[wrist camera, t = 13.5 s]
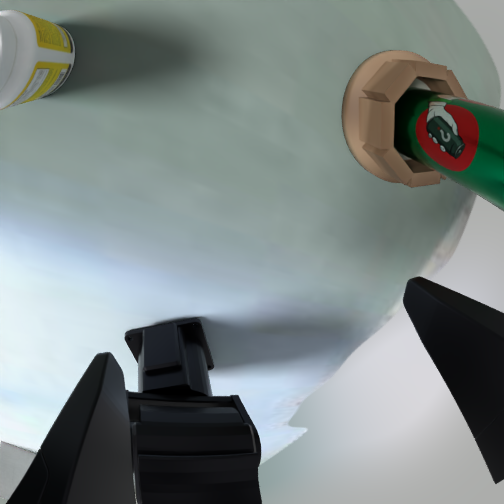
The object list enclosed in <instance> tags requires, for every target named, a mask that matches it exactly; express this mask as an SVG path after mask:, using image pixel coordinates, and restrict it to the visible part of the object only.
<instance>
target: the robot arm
mask: <svg viewBox="0 0 504 504" xmlns="http://www.w3.org/2000/svg"><path fill="white" fill-rule="evenodd" d="M403 304H404V307H405V309H406V311H407V313H408V315H409V317H410V319H411V321H412V323H413V325H414V327H415V329H416V331H417V333H418V335H419V337H420V339H421V341H422V343H423V345H424V347H425V349H426V350H427V352H428V354H429V355H430V357H431V359H432V360H433V362H434V364H435V365H436V367H437V369H438V371H439V372H440V374H441V376H442V378H443V379H444V381H445V383H446V385H447V387H448V388H449V390H450V392H451V394H452V396H453V397H454V399H455V401H456V403H457V405H458V407H459V409H460V411H461V412H462V414H463V416H464V418H465V420H466V422H467V424H468V426H469V428H470V430H471V432H472V434H473V436H474V438H475V441H476V443H477V445H478V447H479V449H480V451H481V454H482V456H483V458H484V460H485V462H486V465H487V467H488V469H489V471H490V473H491V476H492V478H493V481H494V482H495V484H497V483H499V482H500V481H502V480H503V479H504V313H502V312H500V311H498V310H496V309H494V308H491V307H489V306H487V305H485V304H482V303H480V302H478V301H476V300H474V299H471V298H469V297H467V296H464V295H462V294H460V293H458V292H455V291H453V290H451V289H448V288H446V287H444V286H441V285H439V284H437V283H434V282H432V281H430V280H427V279H425V278H423V277H415V278H412V279H409V280H408V282H407V285H406V289H405V293H404V297H403ZM193 324H197V325H193ZM125 341H126V343H127V345H128V347H129V348H130V350H131V352H132V354H133V356H134V358H135V359H136V361H137V363H138V392H129V391H128V390H125V382H124V375H123V371H122V369H121V367H120V366H119V364H118V363H117V361H116V359H115V358H114V356H113V355H112V353H110V352H105V353H99V354H97V355H96V356H95V357H94V359H93V360H92V362H91V363H90V365H89V367H88V368H87V370H86V371H85V373H84V374H83V376H82V378H81V379H80V381H79V382H78V384H77V386H76V387H75V389H74V390H73V392H72V394H71V395H70V397H69V399H68V400H67V402H66V403H65V405H64V407H63V408H62V410H61V412H60V414H59V415H58V417H57V419H56V420H55V422H54V424H53V425H52V427H51V429H50V431H49V432H48V434H47V436H46V438H45V439H44V441H43V443H42V445H41V447H40V448H41V449H39V450H38V452H37V454H36V456H35V457H34V459H33V461H32V463H31V464H30V466H29V468H28V470H27V472H26V473H25V475H24V476H23V478H22V479H21V481H20V483H19V484H18V486H17V487H16V489H15V490H14V492H13V494H12V495H11V497H10V498H9V500H8V501H7V503H6V504H136V499H137V503H138V504H262V500H261V495H260V489H259V481H258V467H259V464H260V460H261V443H260V438H259V435H258V432H257V430H256V428H255V426H254V424H253V422H252V420H251V418H250V417H249V415H248V413H247V411H246V409H245V407H244V405H243V404H242V402H241V400H240V398H239V396H238V395H230V396H213V395H212V390H211V385H210V380H209V375H208V370H212V369H213V368H214V364H213V360H212V357H211V354H210V350H209V347H208V344H207V340H206V337H205V334H204V330H203V327H202V323H201V321H200V320H199V319H197V318H193V319H188V320H183V321H178V322H173V323H168V324H163V325H158V326H153V327H148V328H143V329H137V330H132V331H127V332H126V333H125ZM133 476H134V479H133ZM134 488H135V490H134ZM135 494H136V499H135Z"/></svg>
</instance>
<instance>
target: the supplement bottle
mask: <svg viewBox="0 0 504 504" xmlns="http://www.w3.org/2000/svg"><path fill="white" fill-rule="evenodd" d="M74 59H75V46H74V42H73V39H72V37H71V35H70V34H69V32H68V31H67V30H66V29H65V28H63V27H61V26H59V25H57V24H54V23H52V22H49V21H46V20H43V19H40V18H38V17H35V16H32V15H29V14H26V13H23V12H20V11H15V10H3V11H0V110H2V109H5V108H8V107H12V106H15V105H19V104H22V103H25V102H29V101H33V100H36V99H41V98H43V97H46V96H48V95H50V94H52V93H53V92H55V91H56V90H57V89H58V88H59V87H60V86H61V85H62V84H63V83H64V82H65V80H66V79H67V78H68V76H69V74H70V72H71V70H72V67H73V64H74Z"/></svg>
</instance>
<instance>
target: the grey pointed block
mask: <svg viewBox="0 0 504 504" xmlns="http://www.w3.org/2000/svg"><path fill="white" fill-rule="evenodd" d="M35 456H36V454H35V453H32V452H29V451H26V450H23V449H21V448H18V447H15V446H13V445H10V444H7V443H5V442H2V441H1V444H0V497H1V498H4V499H7V500H9V498H10V497H11V495H12V494H13V492H14V490H15V489H16V487H17V486H18V484H19V483H20V481H21V479H22V478H23V476H24V475H25V473H26V472H27V470H28V468H29V466H30V464H31V463H32V461H33V459H34V457H35Z"/></svg>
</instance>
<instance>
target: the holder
mask: <svg viewBox="0 0 504 504" xmlns="http://www.w3.org/2000/svg"><path fill="white" fill-rule="evenodd" d="M409 87H417V88H422V89H427V90H432V91H436V92H441V93H445V94H449V95H453V96H457V97H461V98H465V99H467V97H466V95H465V93H464V91H463V89H462V88H461V86H460V84H459V82H458V80H457V79H456V77H455V75H454V74H453V72H452V70H447V66H443V65H438V64H433V63H430V62H429V61H428V60H427V59H425V58H423V57H422V56H420V55H418V54H416V53H413V52H409V51H397V50H390V51H383V52H380V53H377V54H375V55H373V56H371V57H369V58H368V59H366V60H365V61H364V62H363V63H362V64H361V65H360V66H359V67H358V68H357V69H356V70H355V72H354V73H353V75H352V77H351V78H350V80H349V82H348V85H347V87H346V90H345V94H344V97H343V104H342V127H343V132H344V136H345V139H346V142H347V145H348V147H349V149H350V151H351V153H352V155H353V156H354V158H355V159H356V160H357V162H358V163H359V164H360V165H361V166H362V167H363V168H364V169H366V170H367V171H369V172H370V173H372V174H373V175H375V176H377V177H378V178H381V179H383V180H385V181H389V182H394V183H402V184H404V185H408V186H409V187H418V186H425V185H432V184H439V183H440V178H442V179H444V180H445V179H446V178H447V177H445V176H444V175H442V174H440V173H438V172H436V171H434V170H432V169H430V168H428V167H426V166H424V165H422V164H420V163H418V162H416V161H414V160H412V159H410V158H408V157H406V156H404V155H402V154H400V153H399V152H397V151H396V150H395V148H394V147H393V146H394V109H395V103H396V102H397V101H398V99H399V98H400V97H401V96H402V94H403V93H404V92H405V91H406V90H407V88H409Z"/></svg>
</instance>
